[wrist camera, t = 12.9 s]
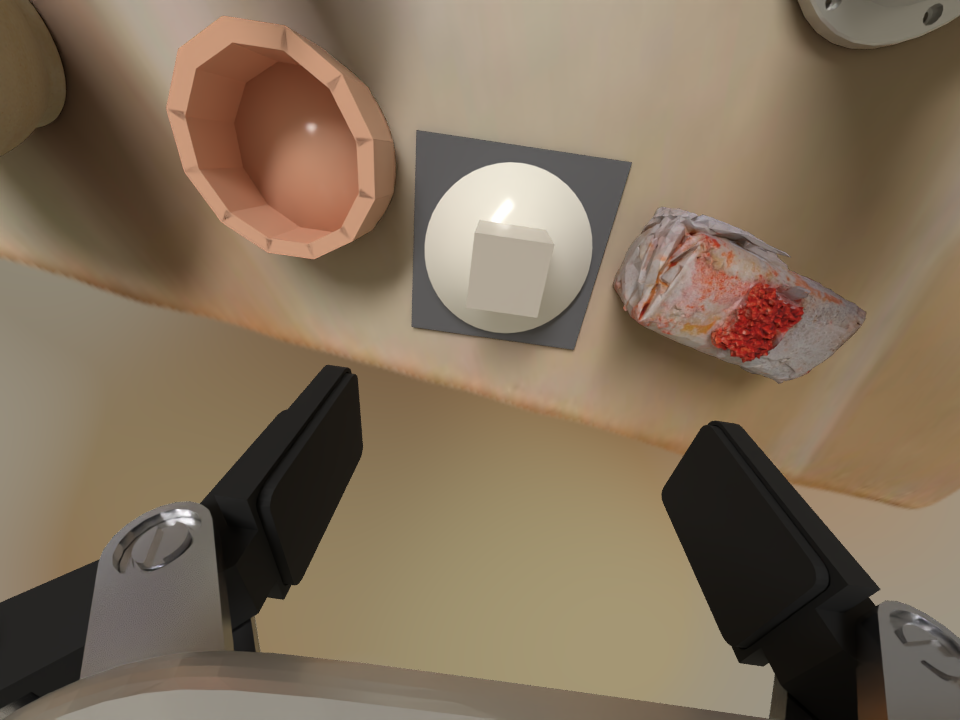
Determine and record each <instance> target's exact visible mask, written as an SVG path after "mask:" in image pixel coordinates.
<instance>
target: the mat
mask: <svg viewBox="0 0 960 720" xmlns="http://www.w3.org/2000/svg"><path fill="white" fill-rule="evenodd" d="M506 162H515V163H524V164H529V165H533V166H536V167H539V168H541V169H544V170H547V171H548V172H550V173H552V174H553V175H555V176H557V177H558V178H559V179H561V180H562V181H563V182H564V183H565V184H567V185H568V186H569V188H570V189H571V190H572V191H573V192H574V193H575V194H576V196H577V197H578V199H579V200H580V202H581V203H582V206H583V208H584V210H585V212H586V214H587V217H588V220H589V223H590V228H591V233H592V258H591V263H590V267H589V271H588V274H587V277H586V279H585V282H584V284H583V286H582V288H581V290H580V291H579V293H578V294H577V296H576V297H575V299H574V300H573V301H572V302H571V303H570V305H569V306H568V307H567V308H566V309H565V310H564V311H562V312H561V313H560V314H559V315H558V316H556V317H555V318H553V319H552V320H550V321H549V322H547V323H545V324H543V325H541V326H539V327H536V328H534V329H530V330H527V331H522V332H516V333H496V332H490V331H485V330H482V329H479V328H476V327H474V326H472V325H470V324H468V323H466V322H464V321H463V320H461V319H460V318H458V317H457V316H456V315H454V314H453V313H452V312H451V311H450V310H449V309H448V308H447V307H446V306H445V305H444V304H443V302H442V301H441V300H440V298H439V297H438V295H437V294H436V292H435V290H434V288H433V286H432V284H431V281H430V279H429V276H428V272H427V269H426V262H425V238H426V232H427V228H428V224H429V221H430V219H431V216H432V214H433V212H434V210H435V208H436V206H437V204H438V203H439V201H440V200H441V198H442V197H443V196H444V194H445V193H446V192H447V191H448V190H449V189H450V188H451V187H452V186H453V185H454V184H455V183H456V182H458V181H459V180H460V179H461V178H463V177H464V176H466V175H468V174H469V173H471V172H473V171H475V170H477V169H480V168H482V167H485V166H488V165H492V164H497V163H506ZM631 164H632V162H626V161H619V160H612V159H606V158H599V157H592V156H586V155H579V154H572V153H566V152H559V151H552V150H546V149H539V148H532V147H526V146H519V145H512V144H506V143H499V142H492V141H486V140H479V139H472V138H466V137H459V136H452V135H446V134H439V133H432V132H426V131H419V130H417V133H416V172H415V211H414V251H413V290H412V327H416V328H423V329H430V330H438V331H445V332H452V333H459V334H466V335H473V336H480V337H487V338H494V339H501V340H508V341H515V342H523V343H530V344H537V345H544V346H551V347H558V348H565V349H572V350H574V347H575V344H576V341H577V338H578V334H579V331H580V328H581V325H582V321H583V318H584V315H585V312H586V309H587V305H588V302H589V299H590V296H591V292H592V289H593V286H594V283H595V280H596V276H597V273H598V270H599V267H600V264H601V260H602V257H603V254H604V251H605V247H606V244H607V241H608V238H609V235H610V231H611V228H612V225H613V222H614V219H615V215H616V212H617V209H618V206H619V202H620V199H621V196H622V193H623V190H624V186H625V183H626V180H627V177H628V174H629V170H630V167H631Z"/></svg>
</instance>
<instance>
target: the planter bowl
mask: <svg viewBox="0 0 960 720" xmlns="http://www.w3.org/2000/svg"><path fill="white" fill-rule="evenodd" d="M65 97H66V82H65V75H64V70H63V66H62V63H61V59H60V56H59V53H58V51H57V48H56V46H55V43H54V41H53V39H52V37H51V35H50V33H49V31H48V29H47V27H46V26H45V24H44V22H43V20H42V19H41V17H40V16H39V14H38V13H37V11H36V10H35V8H34V7H33V5H32V4H31V3H30V1H29V0H0V156H2V155H4V154H5V153H7V152H9V151H10V150H12V149H14V148H15V147H16V146H18V145H19V144H20V143H22V142H23V141H24V140H25V139H26V138H27V137H28V136H29V135H30V134H31V133H32V132H33V131H34V129H35V128H38V127H42V126H45V125H47V124H49V123H51V122H52V121H54V120H55V119H56V118H57V117H58V115H59V114H60V112H61V110H62V108H63V106H64V102H65Z"/></svg>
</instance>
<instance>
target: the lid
mask: <svg viewBox="0 0 960 720" xmlns="http://www.w3.org/2000/svg"><path fill="white" fill-rule="evenodd" d="M591 258H592V233H591V228H590V223H589V220H588V217H587V214H586V212H585V210H584V208H583V206H582V203H581V202H580V200H579V199H578V197H577V196H576V194H575V193H574V192H573V191H572V190H571V189H570V188H569V186H568V185H567V184H565V183H564V182H563V181H562V180H561V179H559V178H558V177H557V176H555V175H553V174H552V173H550V172H548V171H547V170H544V169H541V168H539V167H536V166H533V165H529V164H524V163H515V162H506V163H497V164H492V165H488V166H485V167H482V168H480V169H477V170H475V171H473V172H471V173H469V174H468V175H466V176H464V177H463V178H461V179H460V180H459V181H458V182H456V183H455V184H454V185H453V186H452V187H451V188H450V189H449V190H448V191H447V192H446V193H445V194H444V196H443V197H442V198H441V200H440V201H439V203H438V204H437V206H436V208H435V210H434V212H433V214H432V216H431V219H430V221H429V224H428V228H427V232H426V238H425V262H426V269H427V272H428V276H429V279H430V281H431V284H432V286H433V288H434V290H435V292H436V294H437V295H438V297H439V298H440V300H441V301H442V302H443V304H444V305H445V306H446V307H447V308H448V309H449V310H450V311H451V312H452V313H453V314H454V315H456V316H457V317H458V318H460V319H461V320H463V321H464V322H466V323H468V324H470V325H472V326H474V327H476V328H479V329H482V330H485V331H490V332H496V333H516V332H522V331H527V330H530V329H534V328H536V327H539V326H541V325H543V324H545V323H547V322H549V321H550V320H552V319H553V318H555V317H556V316H558V315H559V314H560V313H561V312H562V311H564V310H565V309H566V308H567V307H568V306H569V305H570V303H571V302H572V301H573V300H574V299H575V297H576V296H577V294H578V293H579V291H580V290H581V288H582V286H583V284H584V282H585V279H586V277H587V274H588V271H589V267H590V263H591Z"/></svg>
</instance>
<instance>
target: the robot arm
mask: <svg viewBox="0 0 960 720" xmlns="http://www.w3.org/2000/svg"><path fill="white" fill-rule="evenodd" d="M798 2H799V5H800V7H801V10H802V12H803V15H804V17H805V18H806V19H807V21H808V22H809V23H810V25H811V26H812V27H813V29H814V30H815V31H816V32H817V33H818V34H820V35H821V36H822V37H824V38H825V39H827V40H828V41H830V42H831V43H834V44H837V45H840V46H843V47H847V48H850V49H874V48H879V47H884V46H889V45H894V44H898V43H901V42H904V41H907V40H910V39H913V38H916V37H920V36H922V35H925V34H927V33H929V32H931V31H933V30H935V29H937V28H939V27H941V26H943V25H946V24H948V23H949V22H951V21H952V20H954V19H956V18H957V17H959V16H960V0H798ZM825 3H826V4H825ZM362 442H363V441H362V428H361V416H360V402H359V390H358V378H357V375H356V374H352V373H351V370H350V369H349V368H346V367H339V366H332V365H326V366H325V367H324V368H323V369H322V370H321V371H320V372H319V373H318V375H317V376H316V377H315V378H314V379H313V380H312V382H311V383H310V384H309V385H308V386H307V388H306V389H305V390H304V391H303V392H302V393H301V394H300V396H299V397H298V398H297V399H296V400H295V401H294V403H293V404H292V405H291V406H290V407H289V408H288V410H284V411H282V412H281V413H279V414H278V415H277V417H275V419H274V420H273V421H272V422H271V423H270V424H269V425H268V427H267V428H266V429H265V430H264V431H263V432H262V434H261V435H260V436H259V437H258V438H257V439H256V440H255V441H254V443H253V444H252V445H251V446H250V447H249V448H248V449H247V451H246V452H245V453H244V454H243V455H242V456H241V457H240V459H239V460H238V461H237V462H236V463H235V464H234V465H233V467H232V468H231V469H230V470H229V471H228V472H227V473H226V475H225V476H224V477H223V478H222V479H221V480H220V481H219V482H218V484H217V485H216V486H215V487H214V488H213V489H212V491H211V492H210V493H209V494H208V495H207V496H206V497H205V498H204V500H203V501H202V502H201V503H200V504H198V503H194V502H175V503H172V504H168V505H164V506H160V507H158V508H156V509H153V510H151V511H149V512H146V513H144V514H142V515H141V516H139V517H138V518H136V519H135V520H133V521H131V522H130V523H128V524H127V525H126V526H125V527H124V528H122V529H121V530H120V531H119V532H118V533H117V534H116V535H114V537H113V538H112V539H111V541H110V542H109V543H108V544H107V546H106V547H105V548H104V550H103V552H102V555H101V558H100V559H99V560H97V561H95V562H92V563H90V564H88V565H85V566H83V567H81V568H79V569H76V570H74V571H72V572H70V573H67V574H65V575H63V576H60V577H58V578H56V579H53V580H51V581H49V582H47V583H44V584H42V585H40V586H37V587H35V588H33V589H30V590H28V591H26V592H24V593H21V594H19V595H17V596H14V597H12V598H10V599H7V600H5V601H3V602H1V603H0V720H960V638H959V637H957V636H956V635H955V634H954V633H952V632H951V631H950V630H949V629H948V628H946V627H945V626H944V625H942V624H941V623H939V622H938V621H936V620H935V619H933V618H932V617H930V616H929V615H927V614H926V613H924V612H922V611H920V610H918V609H916V608H914V607H912V606H910V605H907V604H904V603H901V602H898V601H884V602H882V603H881V604H879V605H878V606H875V605H874V603H873V602H872V601H871V600H870V598H869V597H870V596H871V595H873V594H874V593H876V592H877V591H879V590H880V588H879V587H878V586H877V585H876V583H875V582H874V581H873V580H872V579H871V578H870V576H869V575H868V574H867V573H866V572H865V571H864V570H863V568H862V567H861V566H860V565H859V564H858V563H857V561H856V560H855V559H854V558H853V557H852V555H851V554H850V553H849V552H848V551H847V549H846V548H845V547H844V546H843V545H842V544H841V542H840V541H839V540H838V539H837V538H836V537H835V535H834V534H833V533H832V532H831V531H830V530H829V529H828V527H827V526H826V525H825V524H824V523H823V521H822V520H821V519H820V518H819V517H818V516H817V514H816V513H815V512H814V511H813V510H812V509H811V507H810V506H809V505H808V504H807V503H806V502H805V500H804V499H803V498H802V497H801V496H800V494H798V492H797V491H796V490H795V489H794V487H793V486H792V485H791V484H790V483H789V482H788V480H787V479H786V478H785V477H784V476H783V475H782V473H781V472H780V471H779V470H778V469H777V468H776V466H775V465H774V464H773V463H772V462H771V461H770V459H769V458H768V457H767V456H766V455H765V454H764V452H763V451H762V450H761V449H760V448H759V447H758V445H757V444H756V443H755V442H754V441H753V439H752V438H751V437H750V436H749V435H748V434H747V432H746V431H745V430H744V429H743V428H742V427H741V426H740V425H738V424H734V423H728V422H721V421H712V422H710V423H708V425H705V426H703V427H702V428H701V429H700V431H699V432H698V434H697V435H696V437H695V439H694V440H693V442H692V443H691V445H690V447H689V448H688V450H687V451H686V453H685V454H684V456H683V458H682V459H681V461H680V462H679V464H678V466H677V467H676V469H675V470H674V472H673V474H672V475H671V477H670V478H669V480H668V481H667V483H666V485H665V486H664V488H663V490H662V501H663V504H664V506H665V508H666V511H667V513H668V515H669V517H670V519H671V522H672V524H673V526H674V529H675V531H676V533H677V535H678V538H679V540H680V542H681V544H682V546H683V548H684V551H685V553H686V556H687V557H688V560H689V562H690V564H691V567H692V569H693V571H694V574H695V576H696V578H697V580H698V583H699V585H700V587H701V589H702V592H703V594H704V596H705V598H706V600H707V603H708V605H709V607H710V610H711V612H712V614H713V616H714V618H715V621H716V623H717V625H718V628H719V630H720V632H721V634H722V636H723V638H724V639H725V641H726V642H727V643H728V644H729V645H731V646H732V648H733V650H734V653H735V655H736V657H737V659H738V661H739V663H743V664H750V665H757V666H765V665H766V664H768V663H770V665H771V667H772V669H773V671H774V673H775V677H774V685H773V692H772V700H771V708H770V715H769V719H766V718H760V717H753V716H746V715H739V714H732V713H725V712H718V711H711V710H704V709H697V708H690V707H682V706H676V705H668V704H661V703H654V702H647V701H640V700H633V699H626V698H618V697H611V696H604V695H597V694H589V693H582V692H575V691H568V690H560V689H553V688H546V687H539V686H531V685H524V684H517V683H509V682H502V681H494V680H486V679H479V678H472V677H464V676H456V675H448V674H442V673H434V672H427V671H419V670H412V669H404V668H397V667H389V666H381V665H373V664H366V663H357V662H349V661H348V662H347V661H340V660H330V659H321V658H313V657H303V656H294V655H286V654H276V653H262V652H260V645H259V639H258V633H257V627H256V621H255V615H256V614H258V613H259V611H260V609H261V608H262V606H263V604H264V602H265V600H266V598H267V597H269V598H276V599H285V597H286V595H287V593H288V591H289V589H290V587H291V585H297V584H299V583H300V581H301V580H302V578H303V576H304V574H305V572H306V570H307V568H308V566H309V564H310V562H311V560H312V558H313V555H314V553H315V551H316V549H317V547H318V545H319V543H320V541H321V539H322V537H323V535H324V533H325V531H326V529H327V526H328V524H329V522H330V520H331V518H332V516H333V514H334V512H335V510H336V508H337V506H338V504H339V501H340V499H341V497H342V495H343V493H344V491H345V489H346V486H347V485H348V483H349V481H350V479H351V477H352V475H353V472H354V470H355V468H356V466H357V464H358V462H359V460H360V458H361V455H362V450H363V443H362Z"/></svg>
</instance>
